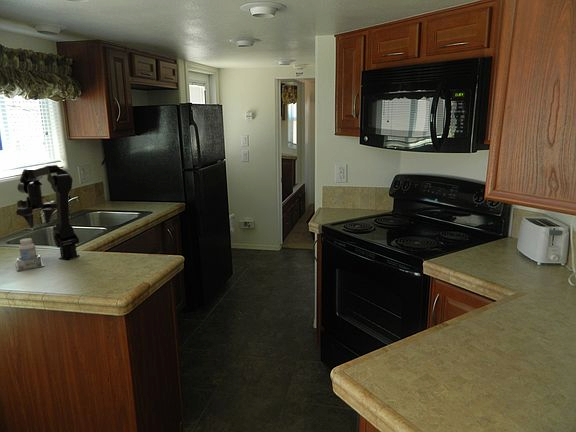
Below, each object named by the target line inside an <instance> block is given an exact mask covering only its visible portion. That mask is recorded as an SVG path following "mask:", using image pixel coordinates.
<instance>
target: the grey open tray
mask: <svg viewBox="0 0 576 432" xmlns="http://www.w3.org/2000/svg"><path fill="white" fill-rule="evenodd" d="M36 255H37V257H36V258H34V259H29V260H21V256H19V257H17V258H16V261H15V264H16V265H15V266H16V270H17V272H23V271H29V270H33V269H39V268H44V267H45V265H44V263H43V259H42V257H41V255H40V253H39V254H37V253H36Z"/></svg>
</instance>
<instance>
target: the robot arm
mask: <svg viewBox="0 0 576 432" xmlns="http://www.w3.org/2000/svg"><path fill="white" fill-rule="evenodd" d="M45 176H46V178H47V179H46V180H47V181H48V183H49V184H50V185H51V186H50V187H51V189H52V190H53V191H54V193H55V199H56V200H55V201H56V202H54V201H53V202H50V201H49V202H44V200H43V199H45V195H43V193H42V185H43V184H42V182H40V180H42V179H43V178H44V177H45ZM72 189H73V178H72V176H71V174H70V173H69V172H68V171H66V170H64V169H62V168H61V167H59V165H57V164H49V165H45V166H42V167H35V168H27V169H23V170H22V172H21V175H20V179H19V183H18V185H17V190H18V192H19V193H22V194H26V195H28V196H26V200H22V199H21V200H20V199H19V200H18V201H16V203H17V204H16V205H17V207H18V208H17V209H16V211H15V213H16V216H19V217H22V218H24V219H25V221H26V222H27V224H28V225H29V228H31V229H33V228H34V215H35V214H33V213H34V212H36V211H37V212H38V211H40V210H41V211H42V212H43V213H44V219H45V223H46V224H47V225H49V223H50V221H51V219H52V216H53V214H54V211H56V216H57V217H56V218H57V219H56V221H57V224H56V225H54V226H53V227H52V232H53V233H52V235H53V236H52V238H53V241H54V244H55V246H56V247H57V248H59V251H60V252H59V253H60V257H58V259H59V260H66V261H67V260H69V261H70V260H72V259H75V258H78V257H80V254H78V252H77V247H76V244H80V239H79V237H78V236H77V234H76V233H75V231H74V227H73V226H72V225H71V223H70V208H69V207H70V206H69V205H70V204H69V194H70V192H71V190H72Z"/></svg>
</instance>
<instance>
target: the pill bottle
mask: <svg viewBox="0 0 576 432" xmlns="http://www.w3.org/2000/svg"><path fill="white" fill-rule="evenodd" d="M19 243H20V245H19V246H18V249H19V255H20V256H19V257H21V260H29V259H34V258H36V257H37V255H36V254H37V248H36V246H35V244H34V243H33V238H30V237H28V238H27V237H26V238H21V239H20V240H19Z"/></svg>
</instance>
